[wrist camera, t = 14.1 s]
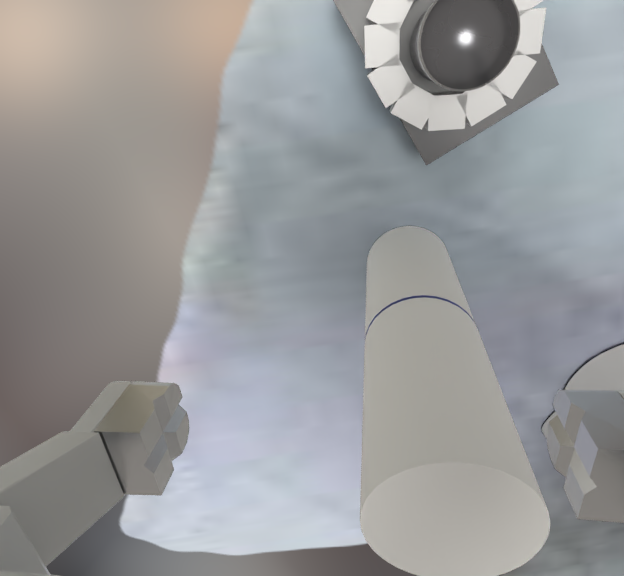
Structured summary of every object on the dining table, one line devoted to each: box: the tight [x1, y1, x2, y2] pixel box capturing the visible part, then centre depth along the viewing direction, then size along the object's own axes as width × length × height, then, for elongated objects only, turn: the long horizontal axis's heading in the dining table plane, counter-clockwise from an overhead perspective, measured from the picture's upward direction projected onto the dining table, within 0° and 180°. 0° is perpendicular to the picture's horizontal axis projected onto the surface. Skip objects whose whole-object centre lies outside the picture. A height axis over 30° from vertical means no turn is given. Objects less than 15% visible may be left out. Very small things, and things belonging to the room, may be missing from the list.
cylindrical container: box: [360, 226, 550, 576], centre depth 28 cm, size 7×7×25 cm
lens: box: [410, 0, 520, 91], centre depth 24 cm, size 5×5×7 cm
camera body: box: [333, 0, 559, 165], centre depth 28 cm, size 12×10×7 cm
